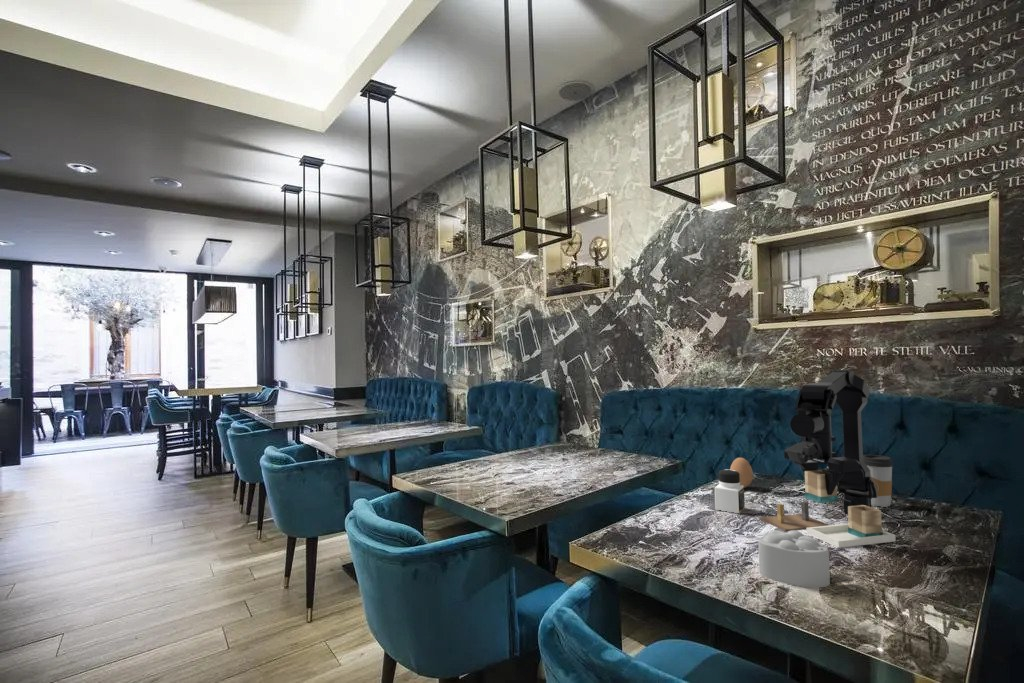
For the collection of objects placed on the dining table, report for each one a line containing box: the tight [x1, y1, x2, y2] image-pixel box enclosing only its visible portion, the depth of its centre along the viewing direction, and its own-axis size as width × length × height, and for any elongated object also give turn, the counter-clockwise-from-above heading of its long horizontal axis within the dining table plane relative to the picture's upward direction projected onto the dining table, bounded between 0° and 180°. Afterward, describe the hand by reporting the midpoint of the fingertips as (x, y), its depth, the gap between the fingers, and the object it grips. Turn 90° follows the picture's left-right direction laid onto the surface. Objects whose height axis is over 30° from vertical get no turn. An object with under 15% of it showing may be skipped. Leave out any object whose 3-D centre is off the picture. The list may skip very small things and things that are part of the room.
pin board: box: [758, 501, 829, 532], centre depth 139 cm, size 14×10×6 cm
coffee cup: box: [863, 454, 894, 508], centre depth 156 cm, size 8×8×15 cm
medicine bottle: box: [714, 468, 746, 514], centre depth 154 cm, size 7×7×12 cm
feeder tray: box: [805, 522, 897, 549], centre depth 127 cm, size 17×10×2 cm, turn 102°
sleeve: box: [847, 505, 883, 537], centre depth 128 cm, size 5×5×7 cm
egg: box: [729, 457, 754, 489], centre depth 178 cm, size 8×8×11 cm
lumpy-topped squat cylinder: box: [757, 529, 831, 589], centre depth 108 cm, size 10×13×9 cm
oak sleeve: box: [804, 469, 839, 504], centre depth 129 cm, size 5×5×7 cm
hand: (820, 491), depth 129 cm, fingers closed on oak sleeve, 5 cm apart
